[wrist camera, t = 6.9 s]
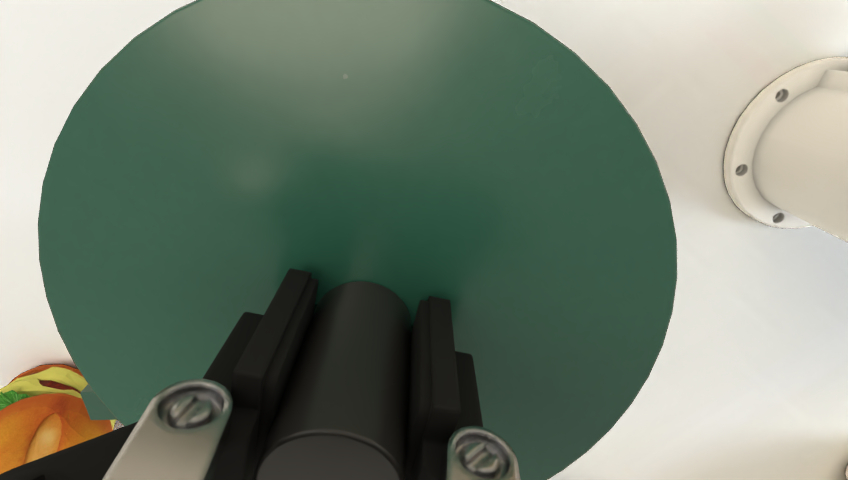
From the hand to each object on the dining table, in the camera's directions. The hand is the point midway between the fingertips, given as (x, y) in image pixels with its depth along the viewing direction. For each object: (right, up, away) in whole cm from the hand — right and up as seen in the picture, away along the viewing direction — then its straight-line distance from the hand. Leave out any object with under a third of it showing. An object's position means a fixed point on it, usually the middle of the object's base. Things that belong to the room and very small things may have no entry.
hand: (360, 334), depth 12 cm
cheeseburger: (-31, -12, +33) cm, 47 cm away
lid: (0, 0, +1) cm, 1 cm away
